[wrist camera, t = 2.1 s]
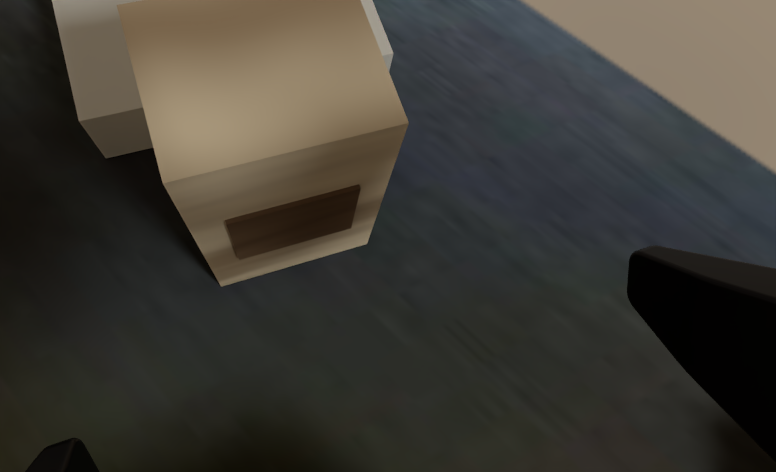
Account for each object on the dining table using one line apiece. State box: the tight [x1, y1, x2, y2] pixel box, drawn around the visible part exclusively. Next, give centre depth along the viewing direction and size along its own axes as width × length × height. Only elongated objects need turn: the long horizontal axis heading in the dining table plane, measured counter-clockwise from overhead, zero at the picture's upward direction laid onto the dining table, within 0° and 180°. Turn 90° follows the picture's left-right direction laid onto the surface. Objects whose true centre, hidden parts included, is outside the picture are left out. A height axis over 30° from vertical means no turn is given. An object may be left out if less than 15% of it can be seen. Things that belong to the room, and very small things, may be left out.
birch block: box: [117, 0, 409, 287], centre depth 19 cm, size 5×6×10 cm
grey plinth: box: [52, 0, 393, 158], centre depth 24 cm, size 6×12×3 cm, turn 109°
